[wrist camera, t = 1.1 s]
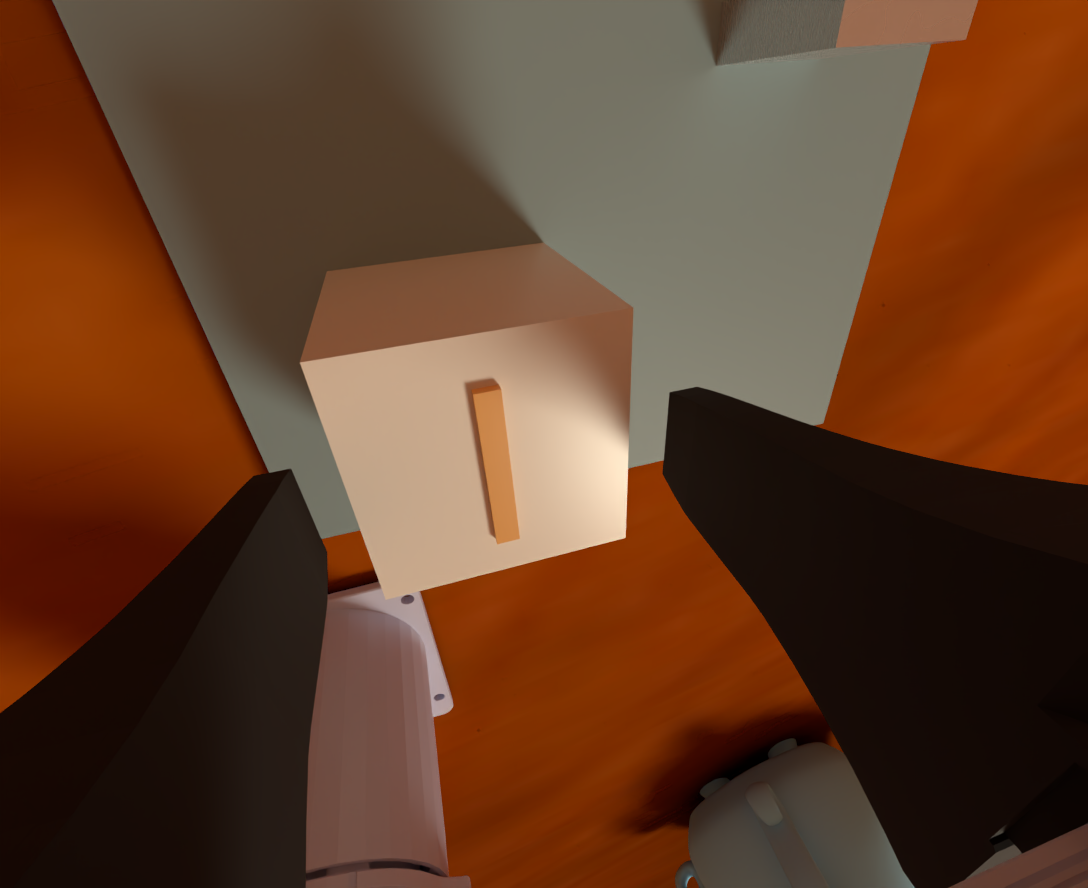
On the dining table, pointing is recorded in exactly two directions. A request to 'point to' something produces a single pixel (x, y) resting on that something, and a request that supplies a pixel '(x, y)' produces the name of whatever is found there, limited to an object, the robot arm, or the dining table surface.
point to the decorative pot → (790, 827)
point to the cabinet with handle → (474, 409)
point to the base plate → (502, 180)
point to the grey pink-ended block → (834, 27)
